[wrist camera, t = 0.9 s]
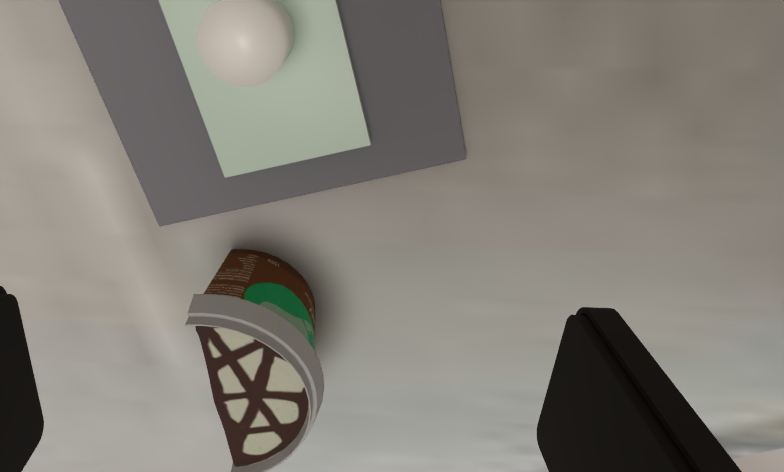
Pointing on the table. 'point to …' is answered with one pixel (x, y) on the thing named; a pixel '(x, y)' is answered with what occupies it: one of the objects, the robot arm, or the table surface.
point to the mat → (219, 194)
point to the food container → (260, 356)
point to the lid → (269, 79)
